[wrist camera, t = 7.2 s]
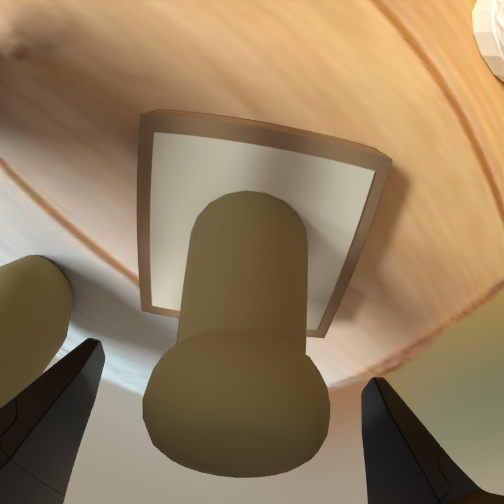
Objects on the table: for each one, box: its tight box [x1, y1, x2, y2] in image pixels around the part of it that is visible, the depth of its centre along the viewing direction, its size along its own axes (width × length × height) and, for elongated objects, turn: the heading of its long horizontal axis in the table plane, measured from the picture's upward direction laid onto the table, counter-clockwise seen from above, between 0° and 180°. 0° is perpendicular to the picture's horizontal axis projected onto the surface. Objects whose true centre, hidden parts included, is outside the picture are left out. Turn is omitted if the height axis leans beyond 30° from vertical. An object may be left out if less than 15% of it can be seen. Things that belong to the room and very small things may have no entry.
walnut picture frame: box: [137, 110, 392, 338], centre depth 17 cm, size 12×12×3 cm
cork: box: [143, 190, 330, 478], centre depth 11 cm, size 6×6×11 cm
